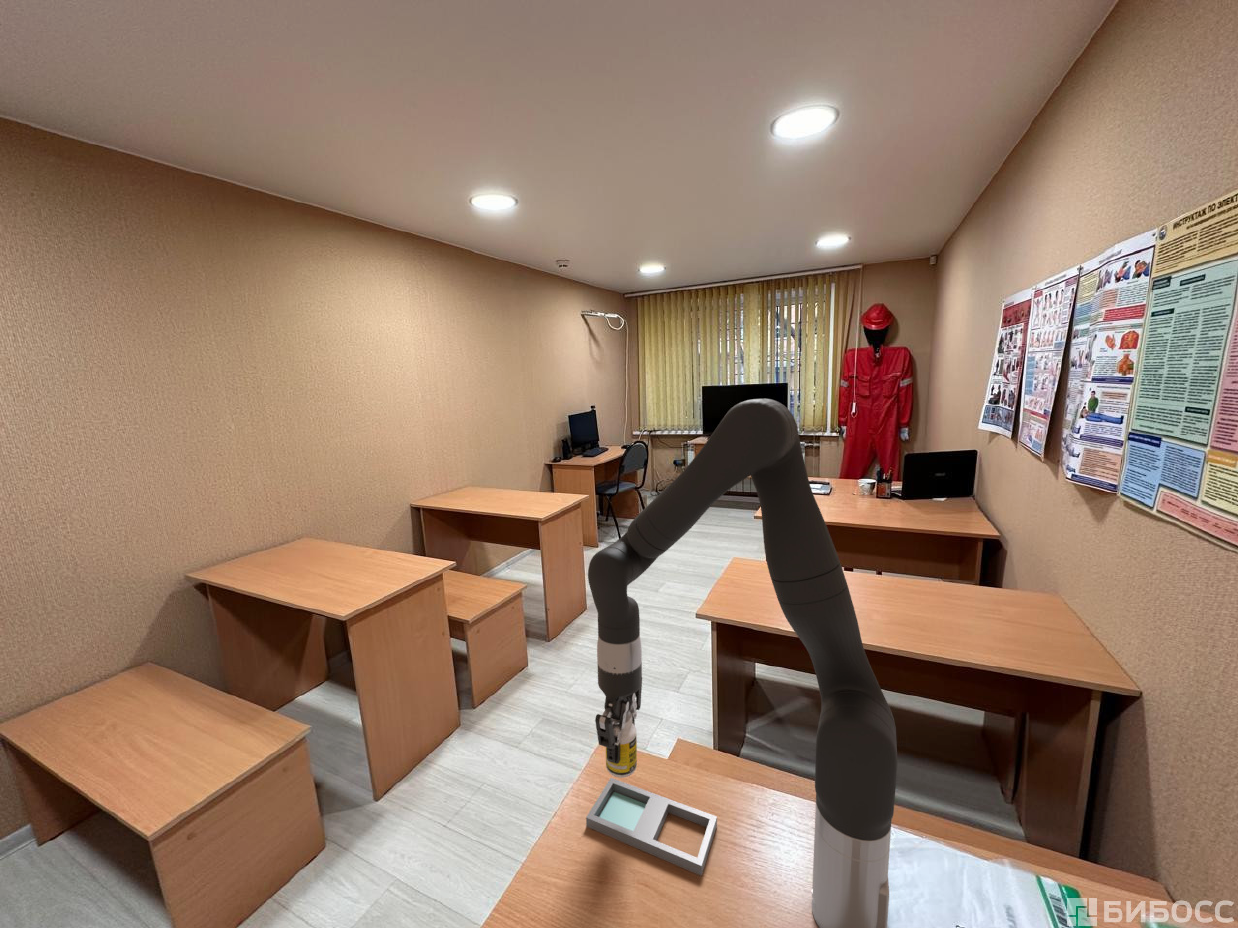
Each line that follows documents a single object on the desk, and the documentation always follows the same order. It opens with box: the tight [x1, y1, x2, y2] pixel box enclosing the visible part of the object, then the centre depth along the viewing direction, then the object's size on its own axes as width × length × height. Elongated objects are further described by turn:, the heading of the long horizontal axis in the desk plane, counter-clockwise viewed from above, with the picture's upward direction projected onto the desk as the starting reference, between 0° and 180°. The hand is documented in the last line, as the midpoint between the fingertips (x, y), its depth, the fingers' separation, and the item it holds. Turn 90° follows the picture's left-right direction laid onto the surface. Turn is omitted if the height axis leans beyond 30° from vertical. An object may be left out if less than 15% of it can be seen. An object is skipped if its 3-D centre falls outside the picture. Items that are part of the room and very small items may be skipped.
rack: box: [585, 777, 718, 877], centre depth 82 cm, size 20×10×2 cm, turn 64°
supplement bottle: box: [605, 711, 638, 779], centre depth 82 cm, size 5×5×10 cm
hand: (621, 748), depth 82 cm, fingers closed on supplement bottle, 5 cm apart
